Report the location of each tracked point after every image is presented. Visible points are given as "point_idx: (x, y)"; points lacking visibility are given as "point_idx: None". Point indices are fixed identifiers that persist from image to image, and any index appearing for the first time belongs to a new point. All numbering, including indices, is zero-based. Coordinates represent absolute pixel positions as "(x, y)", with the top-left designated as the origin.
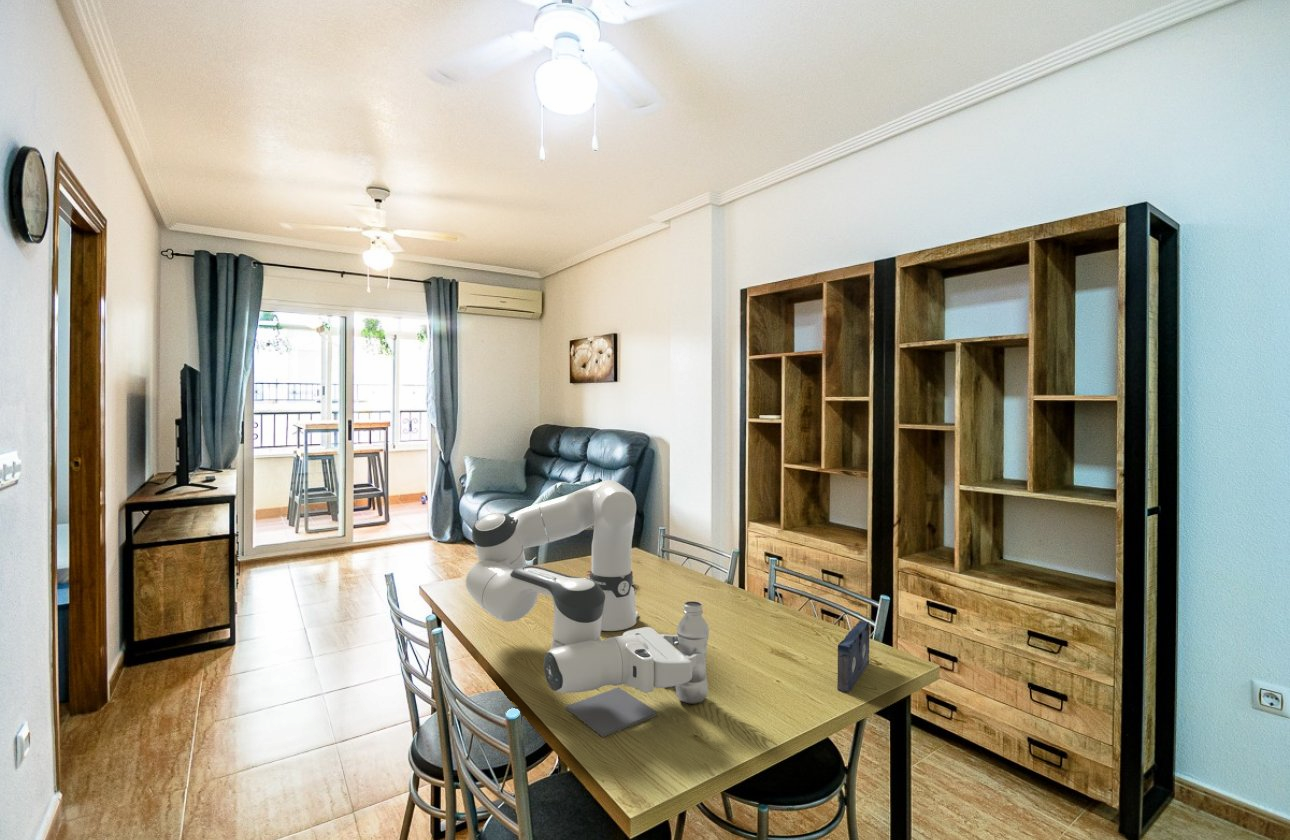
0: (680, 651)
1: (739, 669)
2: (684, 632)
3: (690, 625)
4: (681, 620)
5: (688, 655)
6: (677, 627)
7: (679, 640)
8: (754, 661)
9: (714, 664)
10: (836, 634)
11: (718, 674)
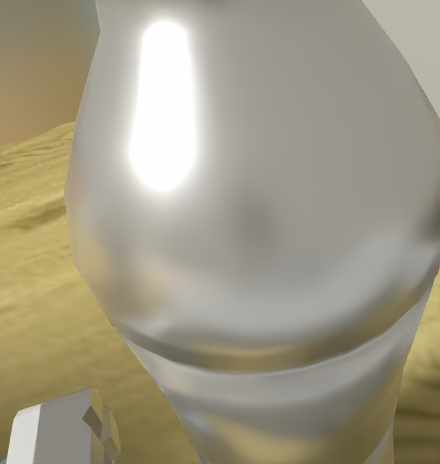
0: (330, 456)
1: (83, 301)
2: (432, 223)
3: (407, 79)
4: (214, 141)
5: (398, 387)
6: (192, 307)
7: (336, 391)
8: (54, 263)
9: (8, 369)
10: (24, 147)
11: (90, 366)
